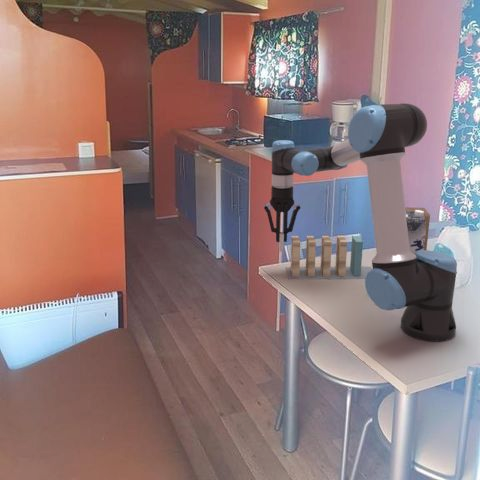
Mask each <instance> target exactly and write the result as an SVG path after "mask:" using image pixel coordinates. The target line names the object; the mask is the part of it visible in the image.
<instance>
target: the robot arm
mask: <svg viewBox="0 0 480 480" xmlns="http://www.w3.org/2000/svg"><path fill="white" fill-rule="evenodd" d="M427 129H428V119H427V117H426V115H425V113H424V111H423V110H422V109H421V108H420V107H418V106H416V105H415V104H411V103H391V104H389V103H384V104H372V105H365V106H363V107H361V108H359V109H357V110H356V112H354V114H353V115H352V118H351V119H350V121H349V124H348V128H347V137H348V139H345V140H343V141H341V142H339V143H336V144H333V145H331V146H330V147H325V148H317V149H316V148H314V149H305V150H303V149H302V150H300V149H295V147H296V146H295V143H294V141H292V140H288V139H287V140H286V139H283V140H282V139H281V140H280V139H279V140H275V141H273V142H272V146H271V186H272V187H271V190H270V191H271V192H270V193H271V198H270V200H269V202H268V203H267V204H264V205H263V209H264V211H265V212H266V213H267V219H268V223H269V226H270V232H272V233H275V241H276V243H278V252H280V253H281V252H284V247H285V246H284V245H285V243H287V242H288V241H287V240H288V234H289V233H292V232H293V230H294V226H295V223H296V222H295V221H296V219H297V216H298V213H299V211H300V210H301V206H300V204H299V203H296V202H295V200H294V186H293V185H294V177H295V176H294V174H297V175H299V176H302V177H303V176H306V177H309V176H312V175H314V174H315V173H318V172H327V171H338V170H342V169H346V168H347V167H348V166H349V165H350V164H352V163H355V162H359V161H360V162H361V163H364V165H366V170H367V178H368V187H369V196H370V198H369V199H370V207H371V213H372V222H373V224H372V225H373V231H374V232H373V233H374V240H375V250H376V253H375V256H374V257H373V258H372V259H371V268H372V270H370V271H369V272H368V273H367V276H366V278H365V279H364V285H365V290H366V293H367V295H368V297H369V298H370V300H371V301H372V302H373V304H374V305H375V306H376V307H378V308H379V309H382V310H384V311H393V310H401V309H404V308H405V307H406V308H405V310H404V311H403V313H402V316H401V319H400V330H402V331H403V332H404V333H405V334H406V335H408V336H411V337H412V338H415V339H418V340H422V341H427V342H443V341H448V340H451V339H452V338H454V337H455V335H456V332H457V331H456V330H457V324H456V320H455V316H454V311H453V300H454V294H455V287H456V286H455V285H456V279H457V274H458V271H457V268H458V263H457V260H456V259H455V258H454V257H453V256H451V255H449V254H446V253H443V252H440V251H436V250H429V249H428V250H418V251H416V252H415V253H414V254H413V253H412V252H411V251H410V249H409V240H408V231H407V221H406V212H405V207H406V205H405V196H404V195H405V194H404V185H403V176H402V175H403V174H402V168H401V160H402V159H403V157H404V156H405V155H406V149H405V148H408V147H412V146H414V145H416V144H418V143H420V142H421V140H422V139H423V138H424V137H425V134H426V132H427ZM271 209H274V211H275V226H274V222H273V217H272V213H271ZM291 209H292V210H293V211H292V214H291V217H290V221H289V224H288V217H289V216H288V213H289V211H290V210H291ZM281 213H283V218H282V219H283V224H282V229H283V230H282V231H281Z"/></svg>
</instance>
